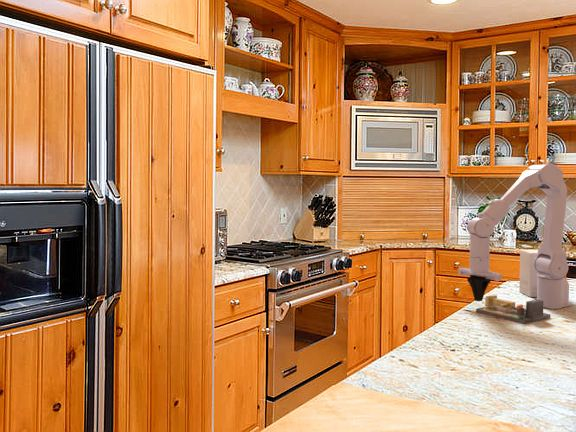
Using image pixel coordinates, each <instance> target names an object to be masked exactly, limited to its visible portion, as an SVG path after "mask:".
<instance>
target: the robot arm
mask: <svg viewBox="0 0 576 432" xmlns="http://www.w3.org/2000/svg"><path fill="white" fill-rule="evenodd" d="M563 177H564V171H563V169H562V168H560V167H559V166H557V165H556V164H554V163H546V164H537V163H535V164H532V165H530V166H528V168H527V169H526V170H524V171H522V173H521V175H520V176H519V178H518V179H517V180H516V181H515V182H514V183H513V184H512V185H511V186H510V188H508V189H507V191H506V192H505V193H504V195H503V196H502V197H500V198H495V199H492V200H489V201H488V202H487V204H488V205H487V206H486V207H485V208H484V209H483V210H482V211H481V212H478V214H477V216H476V217H473V218H472V219H470V221H469V222H468V225H467V226H466V230H467V232H468V233H469V236H470V239H469V240H470V241H469V268H467V267H459V268H458V269H457V270H458V271H457V274H458V275H464V276H469V277H467V282H468V284H469V286H470V288H471V291H472V294H473V298H474V299H473V300H474V301H475V302H482V301H483V300H484V296H485V292H486V291H487V288H488V286H489V284H490V283H491V281H492V280H493V281H495V282H499V281H500V282H501V281H502V279H503V277H502V273H497V272H494V271H491V270H490V251H491V250H490V249H491V247H490V245H491V244H490V241H491V240H490V239H491V235H493V233H494V231H495V227H496V226H497V225H498V224H499V223H500V222H501V221H502V220H503V219H504V218H505V217H506V216H507V215H508V214H509V212H510V206H512V204H514V203H515V202H516V201H517V200H518V199H519V198H520V197H521V196H522V195H523V194H525V193H526V191H528V190H529V189H532V188H533V189H534V188H539V189H540V190H541V191H543V193H545V194H546V205H545V217H544V226H543V237H542V245H541V246H540V247H539V248H538V249H537V250H538V254H537V257H536V258H535V260H534V268H535V270H536V271H537V275H538V281H537V297H536V300H542V301H544V304H543V308H547V309H552V310H556V309H561V308H566V307H570V306H572V303H570V299H569V297H570V284H569V281H568V279H567V278H565V277H566V275H567V274H568V271H569V264H568V260H567V258H568V257H567V253H566V251H565V250H564V249H563V239H564V229H565V220H566V219H565V217H566V210H567V209H566V208H567V201H568V200H567V197H568V188H567V185H566V182H565V180H564V178H563Z"/></svg>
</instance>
